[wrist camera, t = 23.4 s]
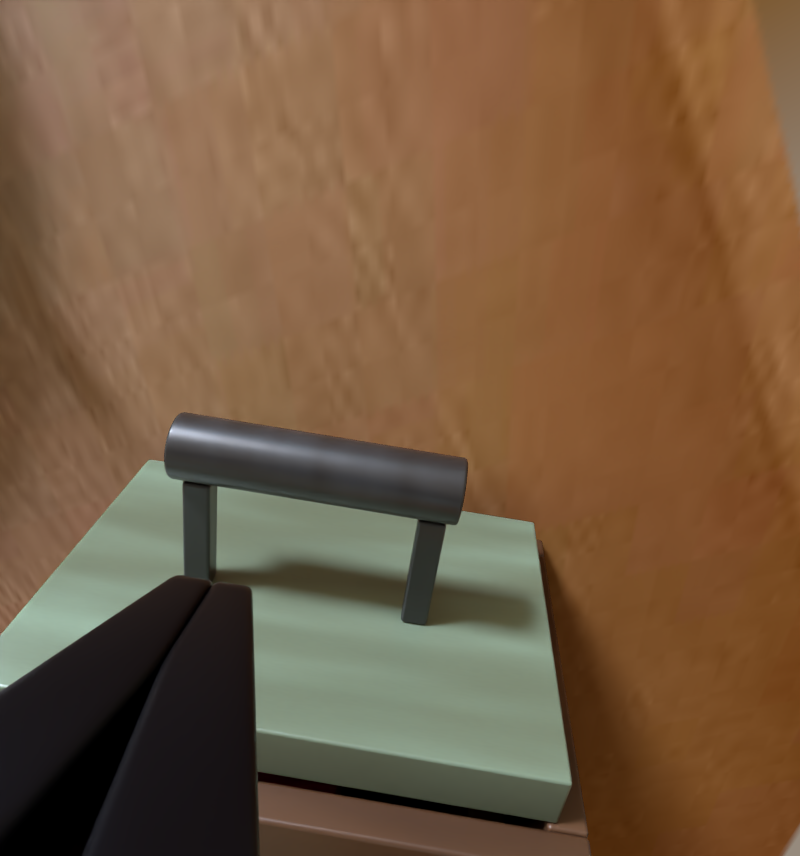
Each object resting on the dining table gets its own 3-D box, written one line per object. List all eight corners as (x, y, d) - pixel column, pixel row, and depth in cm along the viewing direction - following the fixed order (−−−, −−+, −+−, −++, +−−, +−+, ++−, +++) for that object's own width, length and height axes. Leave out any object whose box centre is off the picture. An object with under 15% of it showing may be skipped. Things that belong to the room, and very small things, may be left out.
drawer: (142, 322, 18) (-84, 488, 11) (570, 390, 18) (643, 609, 10) (161, 759, 26) (40, 1025, 19) (454, 810, 26) (449, 1099, 19)
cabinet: (143, 474, 21) (-94, 760, 12) (542, 539, 21) (597, 880, 12) (157, 774, 28) (10, 1100, 19) (460, 826, 28) (456, 1181, 19)
